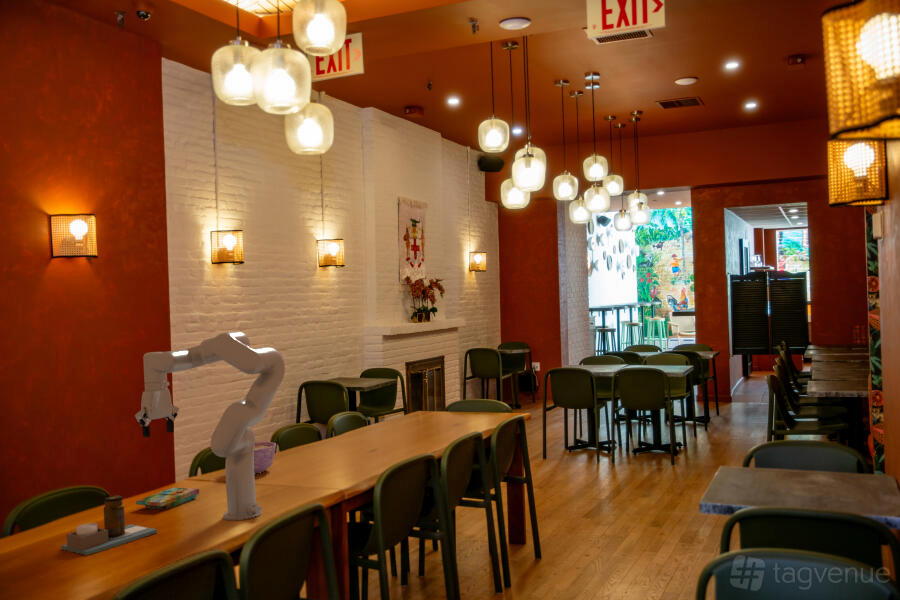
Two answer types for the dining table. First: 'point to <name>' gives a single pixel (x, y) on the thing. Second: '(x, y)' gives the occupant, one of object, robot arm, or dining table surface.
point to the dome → (87, 529)
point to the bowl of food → (263, 455)
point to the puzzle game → (169, 498)
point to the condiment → (114, 517)
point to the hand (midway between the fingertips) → (158, 434)
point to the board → (103, 539)
